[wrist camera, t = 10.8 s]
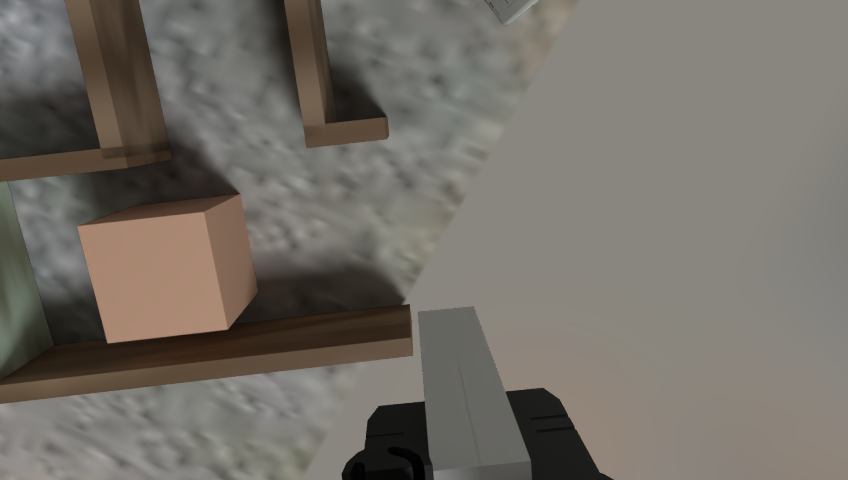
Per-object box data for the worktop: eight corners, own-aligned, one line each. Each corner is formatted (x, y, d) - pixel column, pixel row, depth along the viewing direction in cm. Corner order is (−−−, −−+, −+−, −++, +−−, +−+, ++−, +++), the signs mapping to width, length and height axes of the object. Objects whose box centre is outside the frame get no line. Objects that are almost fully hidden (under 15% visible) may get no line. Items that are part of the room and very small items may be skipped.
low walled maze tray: (-18, 161, 36) (-100, 170, 30) (387, 116, 36) (384, 117, 30) (41, 362, 39) (-23, 406, 33) (411, 319, 39) (413, 355, 33)
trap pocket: (113, -24, 33) (52, -54, 28) (314, -46, 34) (295, -79, 28) (152, 152, 36) (103, 159, 30) (338, 131, 36) (326, 134, 30)
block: (137, 205, 37) (77, 226, 30) (240, 193, 37) (203, 211, 30) (160, 302, 38) (107, 343, 32) (258, 291, 38) (227, 329, 32)
